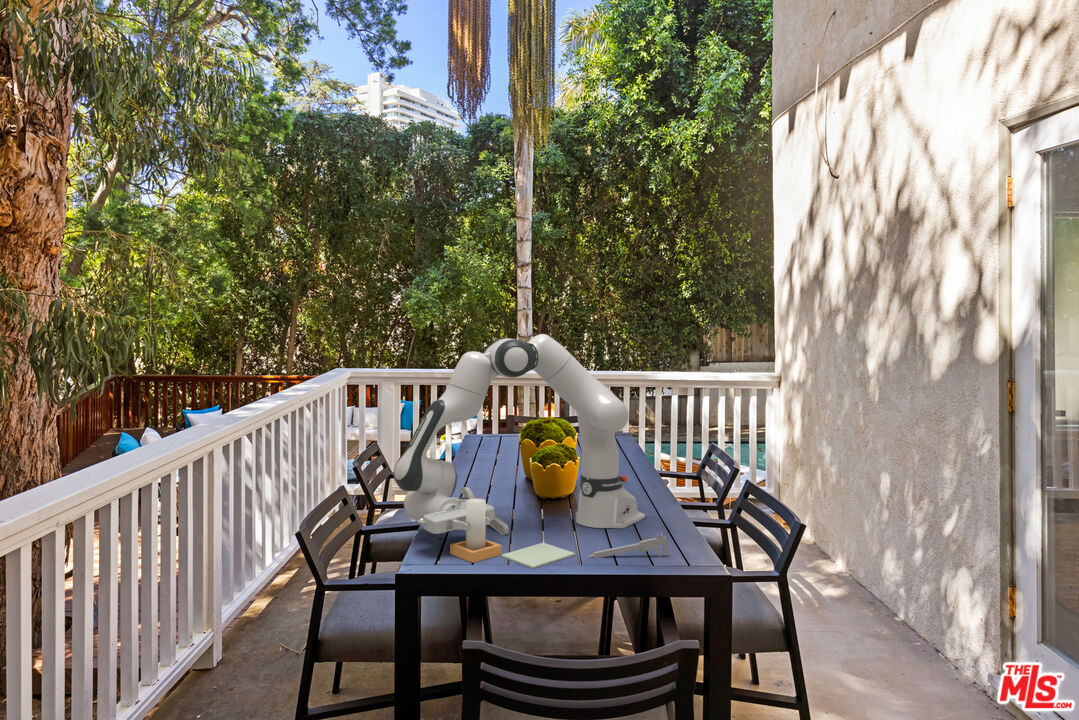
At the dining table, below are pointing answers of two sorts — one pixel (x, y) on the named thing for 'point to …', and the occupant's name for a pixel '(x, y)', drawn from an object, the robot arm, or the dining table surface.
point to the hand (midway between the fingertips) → (478, 524)
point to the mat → (538, 555)
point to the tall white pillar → (476, 524)
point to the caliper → (636, 547)
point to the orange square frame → (477, 555)
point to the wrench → (495, 523)
